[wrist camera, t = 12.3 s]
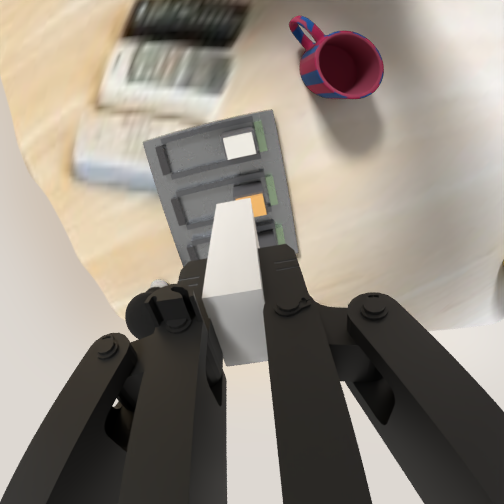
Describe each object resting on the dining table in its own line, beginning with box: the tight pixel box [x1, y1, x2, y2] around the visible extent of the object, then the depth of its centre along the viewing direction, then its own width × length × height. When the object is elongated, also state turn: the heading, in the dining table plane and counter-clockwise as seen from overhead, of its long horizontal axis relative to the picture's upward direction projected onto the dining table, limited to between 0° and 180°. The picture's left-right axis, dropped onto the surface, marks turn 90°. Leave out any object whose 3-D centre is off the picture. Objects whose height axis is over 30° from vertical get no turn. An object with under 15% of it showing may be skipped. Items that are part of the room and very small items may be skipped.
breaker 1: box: [221, 126, 258, 161], centre depth 28 cm, size 2×3×4 cm
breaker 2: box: [257, 230, 277, 248], centre depth 33 cm, size 2×3×4 cm
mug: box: [289, 16, 384, 99], centre depth 24 cm, size 7×10×7 cm
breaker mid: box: [233, 181, 269, 217], centre depth 31 cm, size 2×3×4 cm
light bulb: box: [125, 280, 168, 339], centre depth 35 cm, size 6×6×10 cm
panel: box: [143, 109, 298, 267], centre depth 33 cm, size 17×14×2 cm
